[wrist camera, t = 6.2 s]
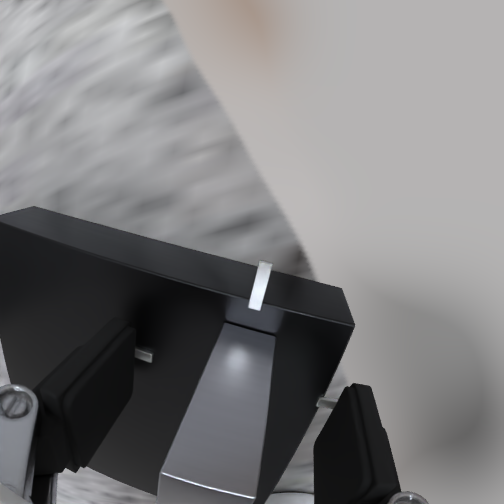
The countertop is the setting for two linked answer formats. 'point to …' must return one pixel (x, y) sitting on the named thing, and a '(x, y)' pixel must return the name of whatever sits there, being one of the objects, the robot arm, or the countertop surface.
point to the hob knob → (223, 425)
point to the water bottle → (290, 498)
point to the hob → (163, 330)
